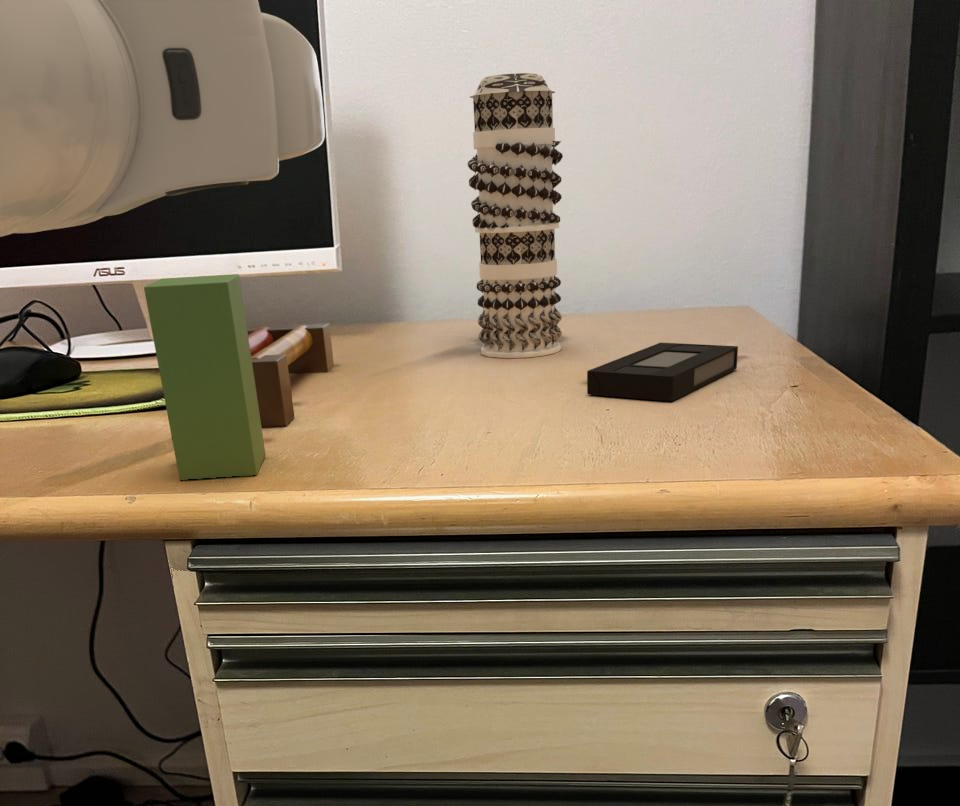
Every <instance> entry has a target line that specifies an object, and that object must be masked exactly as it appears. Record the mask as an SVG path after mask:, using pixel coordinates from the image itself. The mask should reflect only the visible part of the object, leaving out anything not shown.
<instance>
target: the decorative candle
mask: <svg viewBox="0 0 960 806" xmlns="http://www.w3.org/2000/svg"><path fill="white" fill-rule="evenodd" d="M555 93H556V91H553V90H552V89H550V88H549V86H548V84H547V82H546V80H545V79H544V78H543V76H542V75H541V74H539V73H531V72H530V73H529V72H524V73H523V72H521V73H519V72H518V73H505V74H504V73H503V74H495V75H489V76H485V77H483V78H482V79H481V80H480V82H479V84H478V87H477V89H476V91H475V93H474V94H472V95H471V96H469V99H473V100H472V103H473V121H474V123H473V124H474V132H472V138H473V139H472V140H473V149H474V150H476V153H475V155H473V156H472V158H470V159H469V160H468V161H467V167H468V169H469V170H470V171H471V172H473V173H474V174H473V176H471V177H470V178H469V179H468V186H469V187H470V188H472V189H474V191H475V192H476V191H478V195H477V196H476V197H475V199H473V200H472V201H471V203H470V206H471V208H472V210H473V211H475V212H476V213H477V215H475V216H474V217H473V218H472V226H473V227H474V233H477V234H479V251H480V262H479V264H478V266H479V267H478V268H479V279H480V280H479V281H478V282H476V290H478V291H479V292H481V293H482V295H481V296H480V297H479V298H478V299H477V306H478V307H481V308H482V309H483V310H482V313H481V314H480V315H479V316H478V317H477V324H478V326H479V327H480V328H482V329H481V330H480V331H479V333H478V340H479V342H481V343H482V344H483V346H481V347H480V355H482V356H484V357H490V358H495V359H496V358H498V359H523V358H525V359H526V358H535V357H543V356H548V355H553V354H556V353H558V352H560V351H561V349H562V347H561V344H560V343H559V342H557V341H558V339H559V338H560V337H562V334H563V333H562V330H561V327H559V325H558V324H559V323H560V322H561V321H562V319H563V316H562V314H561V312H560V311H559V310H558V309H557V308H556V305H557V304H558V303H559V302H561V301H562V297H561V296H560V294H559V293H557V291H555V290H556V289H557V288H559V287H560V286H561V284H562V281H561V279H560V278H559V277H558V276H557V275H558V260H557V258H556V245H555V244H556V243H555V241H556V238H555V232H556V231H555V229H559V228H560V222H561V216H560V215H558V214H556V213H555V212H554V207H555V206H556V205H557V204H558V203H559V202H560V201H561V200H562V197H563V196H562V194H561V193H559V192H558V191H557V190H556V189H555V188H556V187H558V185H560V184H561V182H562V177H561V175H559V174H558V173H556V171H555V170H553V165H554V166H557V164H559V163H560V162H561V161H562V159H563V157H564V155H563V153H562V152H561V151H559V150H558V149H557V148H556V147H557V146H559V145H560V144H561V143H562V140H556V128H555V127H554V122H553V121H554V120H553V119H554V118H553V115H554V114H553V112H554V111H553V110H554V109H553V94H555Z"/></svg>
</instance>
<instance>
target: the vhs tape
mask: <svg viewBox="0 0 960 806" xmlns="http://www.w3.org/2000/svg"><path fill="white" fill-rule="evenodd" d="M738 353H739V346H737V345H720V344H719V345H718V344H702V343H701V344H699V343H677V342H658V343H656V344H653V345H649V346H648V347H645V348H643V349H640V350H637V351H634V352H633V353H630V354H627V355H625V356H622V357H619V358H617V359H615V360H612V361H608V362H607V363H604V364H602V365H598V366H597V367H594V368H591V369H588V370H587V371H586V379H587V380H586V395H590V396H604V397H615V398H616V397H617V398H627V399H637V400H639V399H640V400H652V401H663V402H664V401H666V402H673V401H675V400H677V399H679V398H681V397H683V396H685V395H687V394H689V393H691V392H694V391H695V390H697V389H699V388H702V387H704V386H705V385H707V384H709V383H711V382H713V381H716V380H717V379H719V378H721V377H722V376H725V375H727V374H729V373H731V372H732V371H735V370H737V368H738V356H739V355H738Z"/></svg>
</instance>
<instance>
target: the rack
mask: <svg viewBox="0 0 960 806" xmlns="http://www.w3.org/2000/svg"><path fill="white" fill-rule="evenodd" d="M247 332H248V338H249V345H250V352H251V359H252V366H253V373H254V379H255V386H256V393H257V400H258V407H259V414H260V420H261V427H262V428H276V427H278V428H279V427H287V426H288V425H289V424H290V423H291V421H293V420H294V419H295V411H294V403H293V394H292V388H291V387H292V386H291V380H290V375H291V374H292V375H293V374H312V373H313V374H314V373H315V374H316V373H329V372H330V371H331V370H332V369H333V368H334V367H335V363H334V354H333V345H332V337H331V326H330V323H329V322H323V323H322V322H321V323H297V324H275V325H256V326H255V325H254V326H253V325H252V326H247Z"/></svg>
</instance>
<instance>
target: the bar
mask: <svg viewBox="0 0 960 806" xmlns="http://www.w3.org/2000/svg"><path fill="white" fill-rule="evenodd" d="M241 285H242V284H241V278H240V274H239V273H237V274H236V273H234V274H233V273H232V274H217V275H202V276H186V277H183V276H182V277H169V278H168V277H167V278H166V277H165V278H161V279H157V280H156V281H153V282H152V283H149V284H147V285H145V286H143V291H144V296H145V297H144V298H145V301H146V308H147V313H148V318H149V322H150V328H151V333H152V338H153V344H154V349H155V350H154V351H155V356H156V360H157V366H158V371H159V376H160V382H161V388H162V392H163V398H164V403H165V410H166V414H167V420H168V424H169V430H170V436H171V441H172V446H173V451H174V457H175V461H176V466H177V467H176V468H177V473H178V478H179V481H180V480H183V481H189V480H188V479H198V480H203V479H202V478H212V479H217V478H216V477H226V478H233V477H232V476H240V477H252V476H253V475H255V476H257V475H258V473H259V471H260V469H261V466H262V465H263V462H264V460H265V458H266V448H265V442H264V434H263V427H261V420H260V414H259V407H258V400H257V393H256V386H255V379H254V373H253V366H252V359H251V352H250V345H249V338H248V332H247V327H248V325H247V319H246V313H245V306H244V305H245V304H244V297H243V291H242V286H241Z"/></svg>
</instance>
